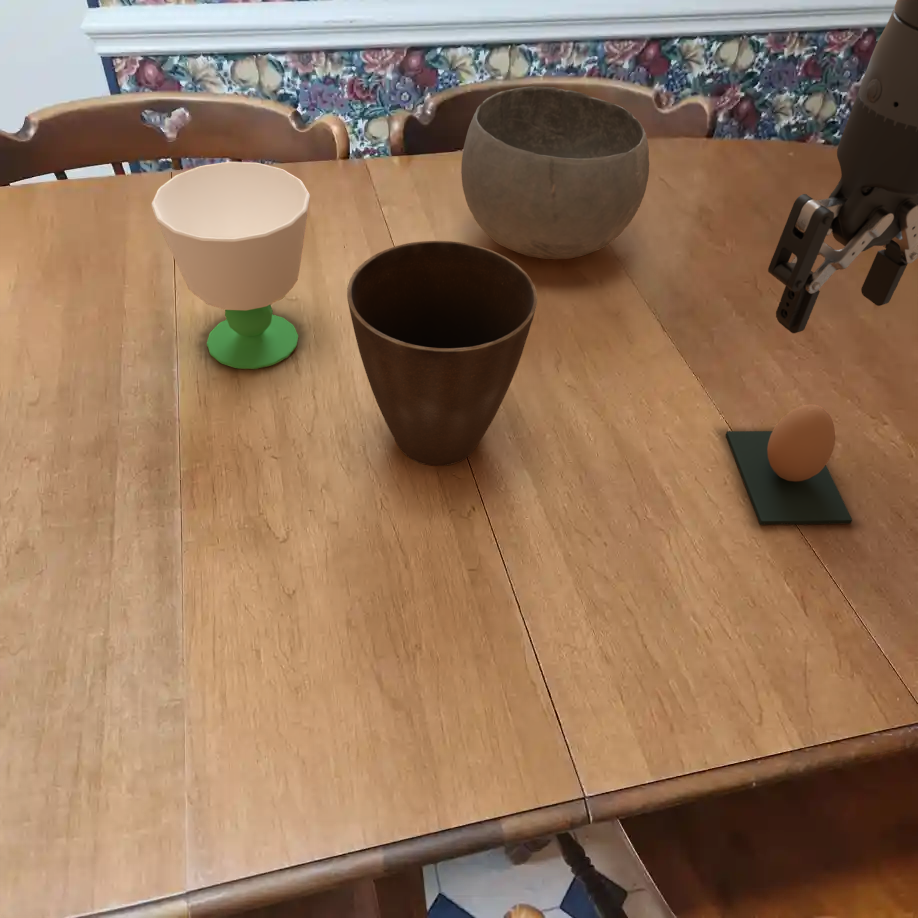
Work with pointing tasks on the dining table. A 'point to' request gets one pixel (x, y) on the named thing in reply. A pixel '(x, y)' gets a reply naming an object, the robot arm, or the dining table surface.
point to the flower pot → (440, 341)
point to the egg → (801, 443)
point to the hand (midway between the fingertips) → (832, 312)
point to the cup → (238, 252)
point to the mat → (784, 487)
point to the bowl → (553, 171)
